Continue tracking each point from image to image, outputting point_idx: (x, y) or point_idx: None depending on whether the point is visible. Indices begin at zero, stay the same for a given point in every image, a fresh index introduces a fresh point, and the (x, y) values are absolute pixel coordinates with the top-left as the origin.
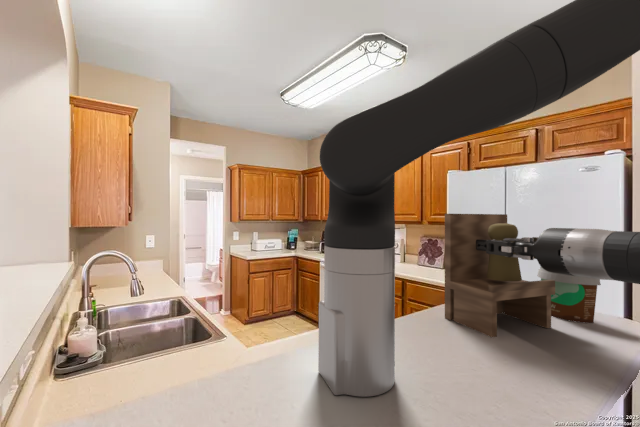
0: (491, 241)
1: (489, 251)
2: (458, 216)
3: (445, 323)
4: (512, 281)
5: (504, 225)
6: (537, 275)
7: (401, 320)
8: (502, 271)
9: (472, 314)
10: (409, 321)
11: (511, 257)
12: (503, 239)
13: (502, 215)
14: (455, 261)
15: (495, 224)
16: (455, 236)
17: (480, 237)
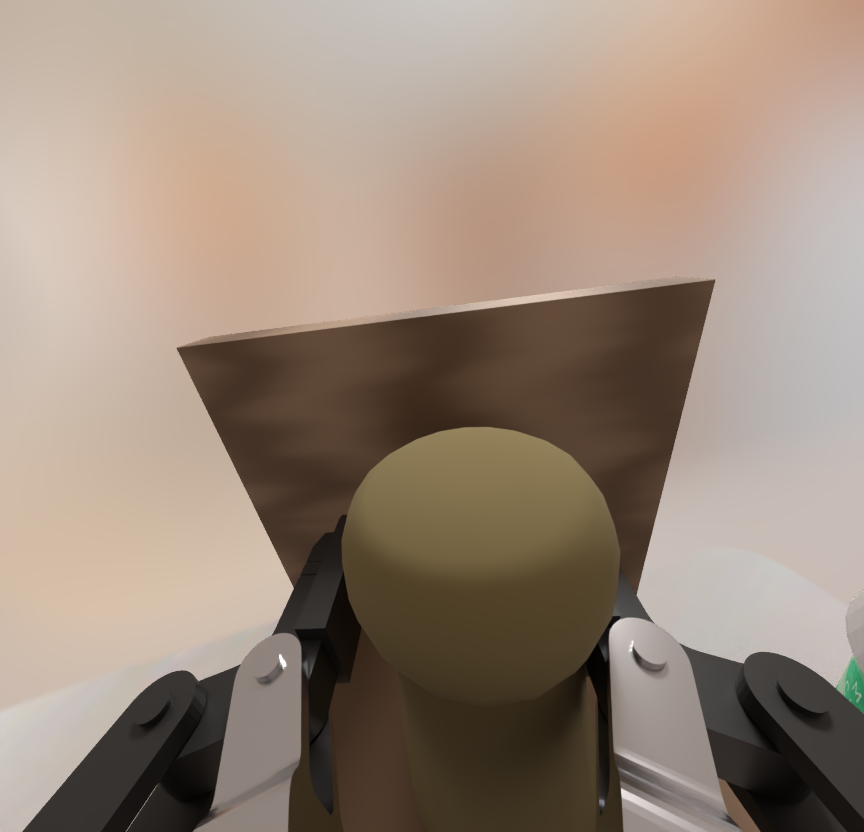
0: (52, 805)
1: (152, 796)
2: (247, 357)
3: None
4: (593, 713)
5: (386, 549)
6: (848, 615)
7: (232, 646)
8: (418, 791)
9: None
10: (240, 661)
11: (469, 793)
12: (200, 821)
13: (657, 295)
14: None
15: (386, 470)
16: (270, 466)
17: None
